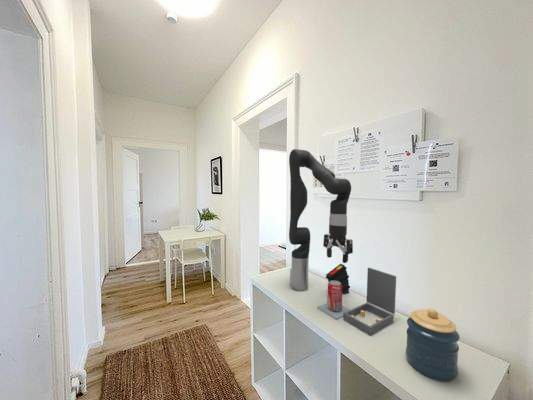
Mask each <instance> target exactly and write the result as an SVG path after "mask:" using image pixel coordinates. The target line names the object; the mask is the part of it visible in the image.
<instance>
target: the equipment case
mask: <svg viewBox="0 0 533 400" xmlns="http://www.w3.org/2000/svg"><path fill="white" fill-rule="evenodd" d="M366 277H367V279H366V280H367V281H366V302H365V303H362V304H360V305H358V306H356V307H353V308H352V309H350V310H349V311H346V312H344V313H343V317H342V318H343V319H342V320H343V321H344V322H346V323H348V324H349V325H351V326H353V327H355V328H356V329H358V330H360V331H361V332H363V333H364V334H367V335H368V336H370V337H371V336H373V335H374V334H376V333H377V332H380V331H382V330H383V329H385V328H386V327H388V326H389V325H392V324H393V323H394V317H395V314H396V294H397V292H396V291H397V276H396V275H394V274H390V273H387V272H384V271H381V270H378V269H376V268H372V267H367V276H366ZM366 311H367V312H369V313H371V314H374V315H375V316H378V317H379V318H378V317H377V318H375V323H373V324H369V323H365V322H363V321H362V320H361V319H358V318H356V316H358V315H359V316H360V317H362V318H364V317H366Z"/></svg>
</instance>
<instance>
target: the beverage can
mask: <svg viewBox="0 0 533 400" xmlns="http://www.w3.org/2000/svg"><path fill="white" fill-rule="evenodd" d="M328 283H329V284H328ZM328 283H327V302H326V303H327V307H328V308H329V309H330V310H332V311H340V310H341V309H342V305H343V294H342V285H341V283H340V282H339V281H335V280H332V281H330V282H328Z"/></svg>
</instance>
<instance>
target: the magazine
mask: <svg viewBox="0 0 533 400" xmlns="http://www.w3.org/2000/svg"><path fill="white" fill-rule="evenodd" d="M347 269H348V268H347V266H345V264H344V263H339V264H337V266H335V267H334V268H332V269H331V270H330V271H329V272H328V273H326V274H325V279H326V280H327V285H328V284H329V282H330V281H332V280H335V281H339V282H340V283H341V285H342V295H344V294H349V292H350V289H351V286H350V282H349V278H350V275H349V274H348V271H347Z"/></svg>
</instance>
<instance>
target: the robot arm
mask: <svg viewBox="0 0 533 400" xmlns="http://www.w3.org/2000/svg"><path fill="white" fill-rule="evenodd" d="M288 162H289V163H288V165H289V174H290V177H289V178H290V191H289V192H290V193H289V194H290V195H289V196H290V197H289V198H290V199H289V200H290V201H289V203H290V206H289V207H290V209H289V210H290V211H289V212H290V213H289V215H290V216H289V217H290V218H289V228H288V241H289V243H290V244H291V245H293V246H294V245H295V246H296V245H297V246H298V245H299V246H298V247H297V248H295V249H293V250H292V251H291V268H290V269H289V270H290V273H289V286H290V287H291V289H292V290H295V291H298V292H303V291H304V292H305V291H307V290H308V289H309V263H310V261H309V259H310V248H311V230H310V228H309V227H305V226H302V227H298V224H299V219H300V217H301V215H302V214H303V213H304V211H305V209H306V208H307V205H308V188H307V187H306V184H305V182H304V181H303V179H302V176H301V169H300V168H307V169H308V170H310V171H311V174H312V176H313V177H314V179H316V180H317V181H318V182H320V183H321V185H323V187H324V189H325V190H326V191H327V192H328V193H329V194H331V195H335V196H336V198H335V199H333V200H331V201H330V204H329V206H330V207H329V219H328V233H326V234H324V235H323V243H322V244H323V245H322V246H323V248H325V249H326V257H327V258H332V255H333V254H332V253H333V247H337V248H339V250H341V252H342V264H347V263H348V262H349V254H350V255H351V254H353V253H354V252H353V251H354V250H353V249H354V245H353V239H351V238H350V239H347V235H348V231H347V230H348V214H347V213H348V212H347V211H348V207H347V206H348V203H349V201H350V200H349V199H350V195H351V191H352V184H351V181H350V180H349V179H346V178H338V177H337V178H336V174H335V172H333V171H331V170H330V169H329V168H327V167H326V166H324V165H323V164H322V163H321V162H320V161H319V160H317V159H316V157H315V156H314V155H313V154H312V153H311V152H310V151H308V150H306V149H299V148H295V149H294V148H293V149H292V150H291V151H290V153H289V158H288Z"/></svg>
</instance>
